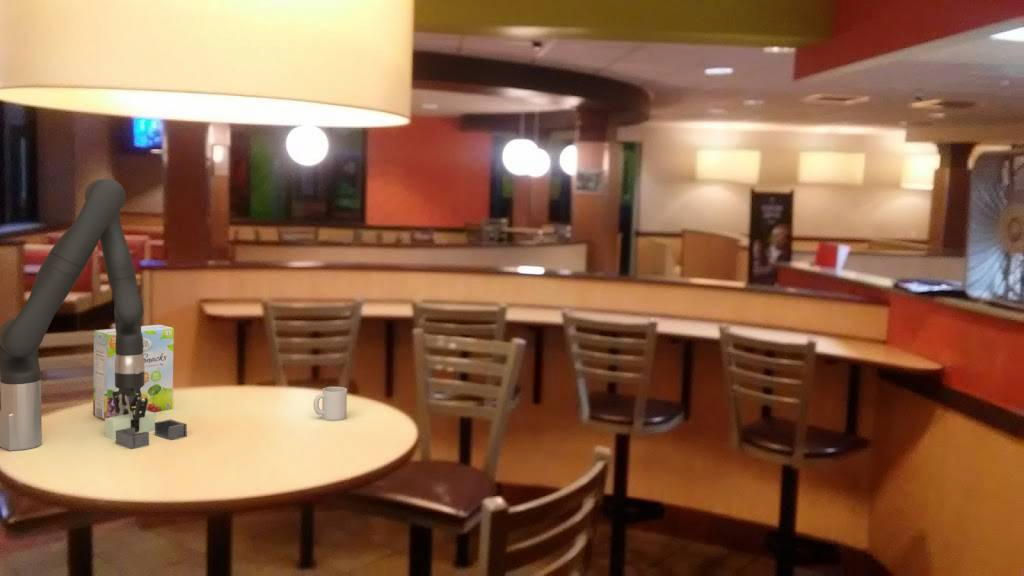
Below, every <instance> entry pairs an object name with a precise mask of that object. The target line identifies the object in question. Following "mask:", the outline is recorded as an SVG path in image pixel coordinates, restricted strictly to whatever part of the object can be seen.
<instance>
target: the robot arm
mask: <svg viewBox="0 0 1024 576" xmlns="http://www.w3.org/2000/svg"><path fill="white" fill-rule="evenodd" d="M84 200H85V202H84V204H83V205H82V208H81V210H80V212H79V214H78V215H77V217H76V219H75V220H74V221H73V223H72V225H71V226H69V227H68V229H67V230H66V231H65V232H64V233H63V234H62V235H61V237H60V238H59V239H58V240H57V241H56V243H55V244H54V245H53V246H52V248H51V249H50V250H49V252H48V254H47V255H46V257H45V259H44V261H43V262H42V264H41V266H40V267H39V270H38V271H37V275H36V276H35V280H34V282H33V285H32V287H31V291H30V294H29V296H28V299H27V300H26V302H25V304H24V305H23V307H22V308H21V310H20V311H19V312H18V313H17V315H16V317H15V318H14V317H13V318H10V319H8V320H7V321H5V322H4V323H3V324H1V326H0V448H2V449H4V450H6V451H10V452H11V451H21V450H30V449H34V448H37V447H39V446H41V445H42V444H43V433H42V432H43V431H42V429H43V427H42V423H43V422H42V385H41V384H42V381H41V380H42V379H41V376H42V375H41V374H42V373H41V368H40V359H39V347H40V346H41V344H42V342H43V340H44V338H45V335H46V333H47V331H48V329H49V326H50V325H51V323H52V320H53V319H54V317H55V314H57V312H58V310H59V308H61V305H62V304H63V302H64V301H65V300H66V299H67V297H68V296H69V294H70V292H71V291H72V289H73V287H74V286H75V285H76V283H77V281H78V280H79V278H80V277H81V275H82V273H84V270H85V268H87V267H86V266H87V265H88V263H89V261H90V259H91V257H92V255H93V254H94V252H95V250H96V248H97V245H98V244H99V243H100V246H101V250H102V256H103V262H104V267H105V272H106V275H107V280H108V284H109V287H110V290H111V292H112V297H113V298H112V299H113V304H114V326H115V329H116V357H115V387H116V388H119V391H115V392H113V393H112V394H113V399H114V405H115V410H116V413H119V415H126V414H130V417H131V427H134V428H135V432H139V419H140V418H142V417H145V412H146V407H147V402H148V399H147V398H143V397H142V396H141V391H140V389H141V387H143V386H144V356H143V337H142V333H141V326H142V319H143V316H144V314H145V313H144V312H145V311H144V305H143V301H142V298H141V295H140V291H139V287H138V282H137V274H136V271H135V270H136V269H135V266H134V260H133V258H132V254H131V251H130V248H129V245H128V243H127V240H126V238H125V237H126V236H125V234H124V231H123V230H124V229H123V227H122V221H121V213H120V212H121V210H122V208H123V207H124V205H125V202H126V191H125V189H124V187H123V186H122V184H121V183H120V182H119V181H116V180H114V179H110V178H100V179H99V178H98V179H95V180H94V181H93V180H92V181H91V183H89V184H88V185H87V187H86V189H85V191H84ZM99 241H100V242H99ZM118 404H119V405H118ZM134 406H136V408H132V407H134ZM134 411H135V414H134ZM140 411H141V413H140Z"/></svg>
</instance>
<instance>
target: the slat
mask: <svg viewBox="0 0 1024 576" xmlns="http://www.w3.org/2000/svg"><path fill="white" fill-rule="evenodd" d="M140 413H141V412H140ZM134 414H135V413H134ZM155 417H156V412H150V411H147V410H146V412H145V417H142V418H140V419H139V432H135V434H138V433H143V432H149V433H150V432H152V431H154V432H155V422H156V421H155V420H156V419H155ZM127 428H131V417H130V414H126V415H120V416H115V417H110V418H105V420H104V437H106V438H109V439H111V440H116V431H117V430H122V429H127Z"/></svg>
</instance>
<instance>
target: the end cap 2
mask: <svg viewBox="0 0 1024 576" xmlns="http://www.w3.org/2000/svg"><path fill="white" fill-rule="evenodd" d="M187 433H188V424H187V423H185V422H181V421H178V420H174V419H171V418H170V419H167V420H160V421H157V422H156V421H155V430H154V436H157V437H160V438H162V439H166V440H170V441H173V440H178V439H182V438H186V437H188V435H187Z"/></svg>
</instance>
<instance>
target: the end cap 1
mask: <svg viewBox="0 0 1024 576" xmlns="http://www.w3.org/2000/svg"><path fill="white" fill-rule="evenodd" d="M115 444H116V445H119V446H122V447H125V448H128V449H130V450H135V449H137V448H142V447H146V446H149V445H150V431H149V432H143V433H138V434H135V428H134V427H131V428H127V429H122V430H117V431H116V439H115Z"/></svg>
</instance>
